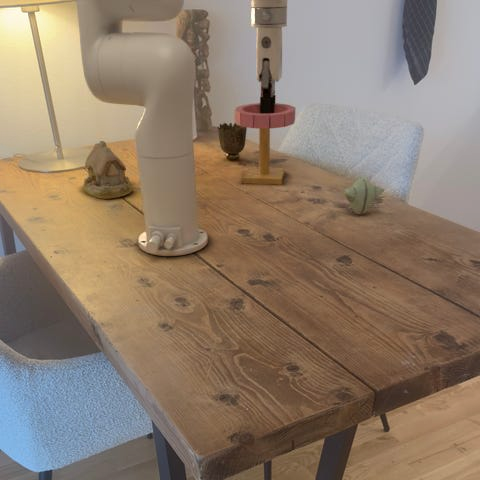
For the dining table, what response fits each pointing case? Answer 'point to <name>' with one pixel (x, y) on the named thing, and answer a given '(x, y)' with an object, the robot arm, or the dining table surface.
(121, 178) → the ceramic model
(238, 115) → the pink ring
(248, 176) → the stand
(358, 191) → the green seashell
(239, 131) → the cup
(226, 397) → the dining table surface
